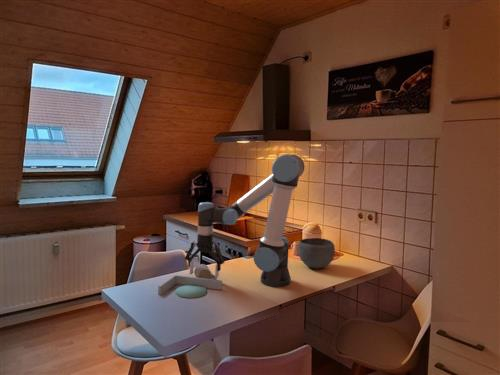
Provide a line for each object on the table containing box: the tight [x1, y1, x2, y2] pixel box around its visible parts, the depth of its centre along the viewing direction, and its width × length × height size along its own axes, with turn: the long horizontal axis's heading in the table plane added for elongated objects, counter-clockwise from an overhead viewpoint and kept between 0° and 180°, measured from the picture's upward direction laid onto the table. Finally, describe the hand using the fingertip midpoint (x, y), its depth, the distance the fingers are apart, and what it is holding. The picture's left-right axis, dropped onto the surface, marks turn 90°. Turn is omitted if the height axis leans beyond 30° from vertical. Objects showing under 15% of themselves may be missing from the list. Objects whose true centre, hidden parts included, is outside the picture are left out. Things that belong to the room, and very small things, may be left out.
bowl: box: [297, 237, 336, 270], centre depth 216 cm, size 21×21×15 cm
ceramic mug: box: [193, 263, 218, 280], centre depth 188 cm, size 11×8×8 cm
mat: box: [175, 285, 207, 299], centre depth 173 cm, size 14×14×1 cm
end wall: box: [157, 274, 177, 296], centre depth 176 cm, size 1×15×4 cm, turn 165°
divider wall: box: [174, 274, 223, 291], centre depth 181 cm, size 24×1×4 cm, turn 75°
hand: (204, 275), depth 189 cm, fingers open, 13 cm apart
